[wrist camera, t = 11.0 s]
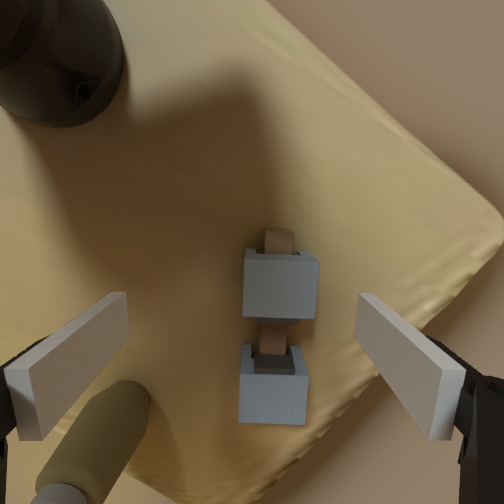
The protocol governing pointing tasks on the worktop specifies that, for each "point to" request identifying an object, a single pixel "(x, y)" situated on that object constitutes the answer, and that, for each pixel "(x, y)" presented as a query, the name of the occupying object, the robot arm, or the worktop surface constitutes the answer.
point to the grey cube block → (280, 287)
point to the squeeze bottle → (95, 447)
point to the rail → (275, 333)
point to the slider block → (273, 388)
